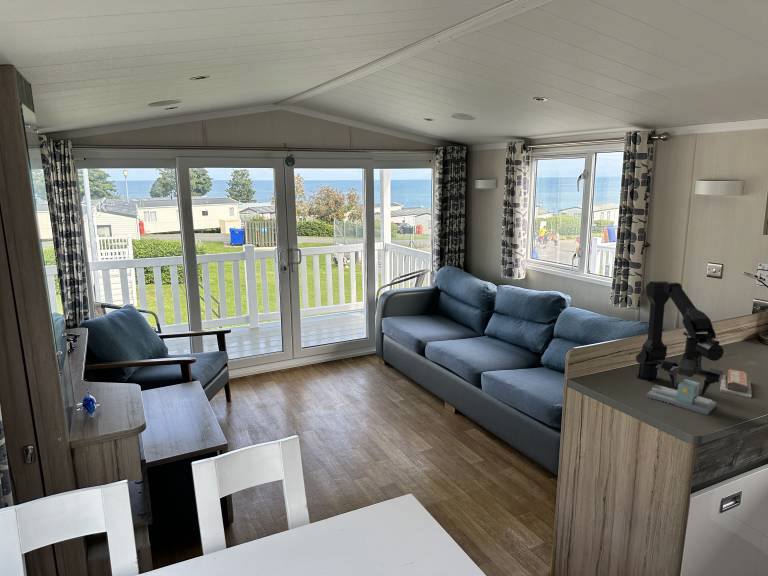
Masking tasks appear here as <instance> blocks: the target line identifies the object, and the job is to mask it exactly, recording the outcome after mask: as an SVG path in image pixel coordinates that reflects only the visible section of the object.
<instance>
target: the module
mask: <svg viewBox="0 0 768 576" xmlns="http://www.w3.org/2000/svg"><path fill="white" fill-rule="evenodd" d="M700 385H701V383H700V382H697V381H693V380H689V379H686V378H685V379H683V380H682V381H681V382H679V383H678V385H677V390H678V391H677V398H676V400H678V401H681V402H685V403H688V404H692V403H693V398H694V397H695V396H699V392H700V388H701V387H700Z"/></svg>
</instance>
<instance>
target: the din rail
mask: <svg viewBox="0 0 768 576" xmlns="http://www.w3.org/2000/svg"><path fill="white" fill-rule="evenodd" d="M651 390H652V391H653V392H657V393H660V394H664V395H667V396H671V397H674V398H677V391H678V389H674V388H669V387H666V386H662V385H660V384H659V385H658V384H655V385H653V386H652V387H651ZM712 401H713V402H714V400H713V399H710V398H706V397H704V396H699V395H698V396H695V397H694V398H693V403H695V404H699V405H702V406H706V407H710V406H711V405H712Z"/></svg>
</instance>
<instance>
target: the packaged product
mask: <svg viewBox="0 0 768 576" xmlns="http://www.w3.org/2000/svg"><path fill="white" fill-rule="evenodd" d="M751 381H752V380H749V376H748V374H747V372H744V371H742V370H735V369H728V370H727V372H726V375H725V374H723V379H722V380H721V381H720V387H719V388H720V389H719V390H720V392H721V393H724V394H730V395H735V396H740V397H745V398H752V384H751V383H752V382H751Z"/></svg>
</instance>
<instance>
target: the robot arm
mask: <svg viewBox="0 0 768 576" xmlns="http://www.w3.org/2000/svg"><path fill="white" fill-rule="evenodd" d="M645 292H646V298H647V299H648V301H649V303H650V307H649V318H648V333H647V339H646V340H645V342H644V343H643V344H642V347H641V351H640V352H639V353H637V355H636V356H635V359H636V360H635V361H636V362H637V363H638V364H639V366H638V373H637V375H636V378H638V379H639V378H640V379H643V380H647V381H650V382H655V381H656V380H657V379H659V377H660V376H659V375H660V368H661V369H662V370H664V372H665V373H666V372H667V374H668V376H669V377H670V378H669V379H670V382H671V384H672V389H674V390H676V388H677V387H676V386H677V383H678V382H677V381H678V375H681V376H685V377H688V378H693V376H694V375H699V376H705V379H704V381H703V382H704V383H703V387H702V391H701V394H700V395H701V396H700V397H704V396H705V394H706V392H707V391H708V389H709V387H710V386H711V384H715V383H720V382H721V380H722V379H723V375H724V372H723V370H720V369H716V368H709V369H707V370H706V369H704V368H703V358H706V359H708V360H710V361H712V362H715V361H719V360H720V359H721V358H722V357H723V355H724V353H725V352H724V349H723V347H722V345H720V341H719V340H717V339H716V338H717V336H716V332H715V329H714V327H713V324H712V320H711V318H710V317H709V316H708V315H707V314H705V312H703V311H701V310H699V309H698V308H696V306H695V304H694V303H693V302H692V301H691V299H690V298H689V296H688V295H687V293H686V292H685V291H684V289H683V286H682V284H681V283H679V282H668V281H666V280H663V281H661V280H660V281H659V280H655V281H649V282H648V283H647V285H646V286H645ZM670 299H671V301H672V302H673V304H674V305H675V307H676V308H677V309H678V311H679V312H680V314H681V315H682V324H683V326H684V328H685V331H683V333H682V334H683V336H684V337H686V338H685V345H684V353H683V356H682V358H681V360H680V362H679V361H678V359H674V358H671V357H670V358H669V357H667V356H668V354H667V351H668V347H667V345H665V343H664V342H663V328H664V319H665V317H664V316H665V305H666V304H667V302H668V300H670ZM659 365H660V367H659Z"/></svg>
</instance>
